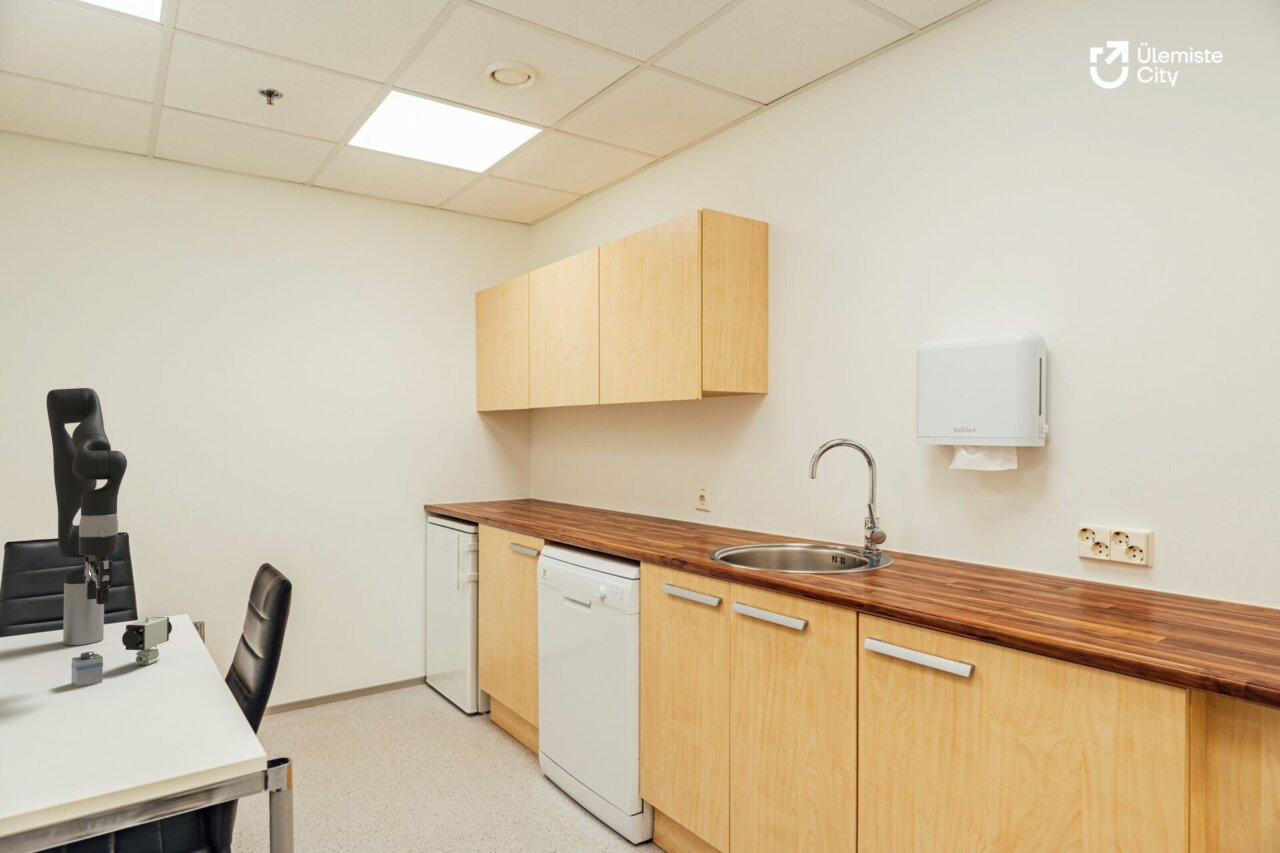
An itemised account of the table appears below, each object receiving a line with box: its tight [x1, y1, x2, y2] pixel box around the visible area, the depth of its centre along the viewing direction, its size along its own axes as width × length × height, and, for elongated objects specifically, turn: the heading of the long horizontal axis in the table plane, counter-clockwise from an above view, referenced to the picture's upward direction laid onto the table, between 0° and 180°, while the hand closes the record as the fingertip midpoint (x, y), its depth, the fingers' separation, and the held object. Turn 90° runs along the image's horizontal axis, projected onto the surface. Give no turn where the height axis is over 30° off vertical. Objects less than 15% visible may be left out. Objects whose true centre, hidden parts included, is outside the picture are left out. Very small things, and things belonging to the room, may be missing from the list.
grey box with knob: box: [70, 651, 104, 689], centre depth 174 cm, size 5×5×7 cm
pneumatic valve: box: [121, 616, 173, 666], centre depth 190 cm, size 6×12×12 cm, turn 174°
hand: (97, 601), depth 176 cm, fingers open, 8 cm apart
